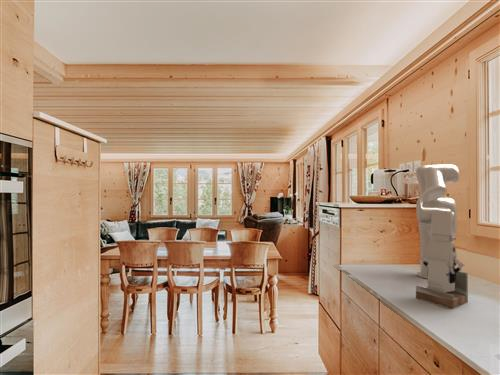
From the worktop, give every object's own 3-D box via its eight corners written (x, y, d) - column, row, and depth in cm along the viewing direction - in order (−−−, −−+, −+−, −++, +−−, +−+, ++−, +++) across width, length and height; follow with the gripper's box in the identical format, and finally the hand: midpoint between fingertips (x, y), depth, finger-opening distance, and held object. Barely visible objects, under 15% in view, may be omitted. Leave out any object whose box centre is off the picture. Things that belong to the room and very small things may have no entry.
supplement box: (445, 293, 123) (445, 262, 123) (427, 288, 129) (427, 258, 129) (455, 290, 126) (455, 260, 126) (437, 285, 133) (437, 256, 133)
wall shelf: (431, 292, 137) (431, 265, 137) (467, 301, 126) (467, 272, 126) (415, 298, 129) (415, 269, 129) (452, 308, 118) (452, 277, 118)
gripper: (469, 240, 123) (469, 284, 123) (424, 235, 137) (424, 274, 137) (461, 242, 119) (461, 287, 119) (415, 236, 133) (415, 276, 133)
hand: (441, 280), depth 128 cm, fingers closed on supplement box, 7 cm apart
